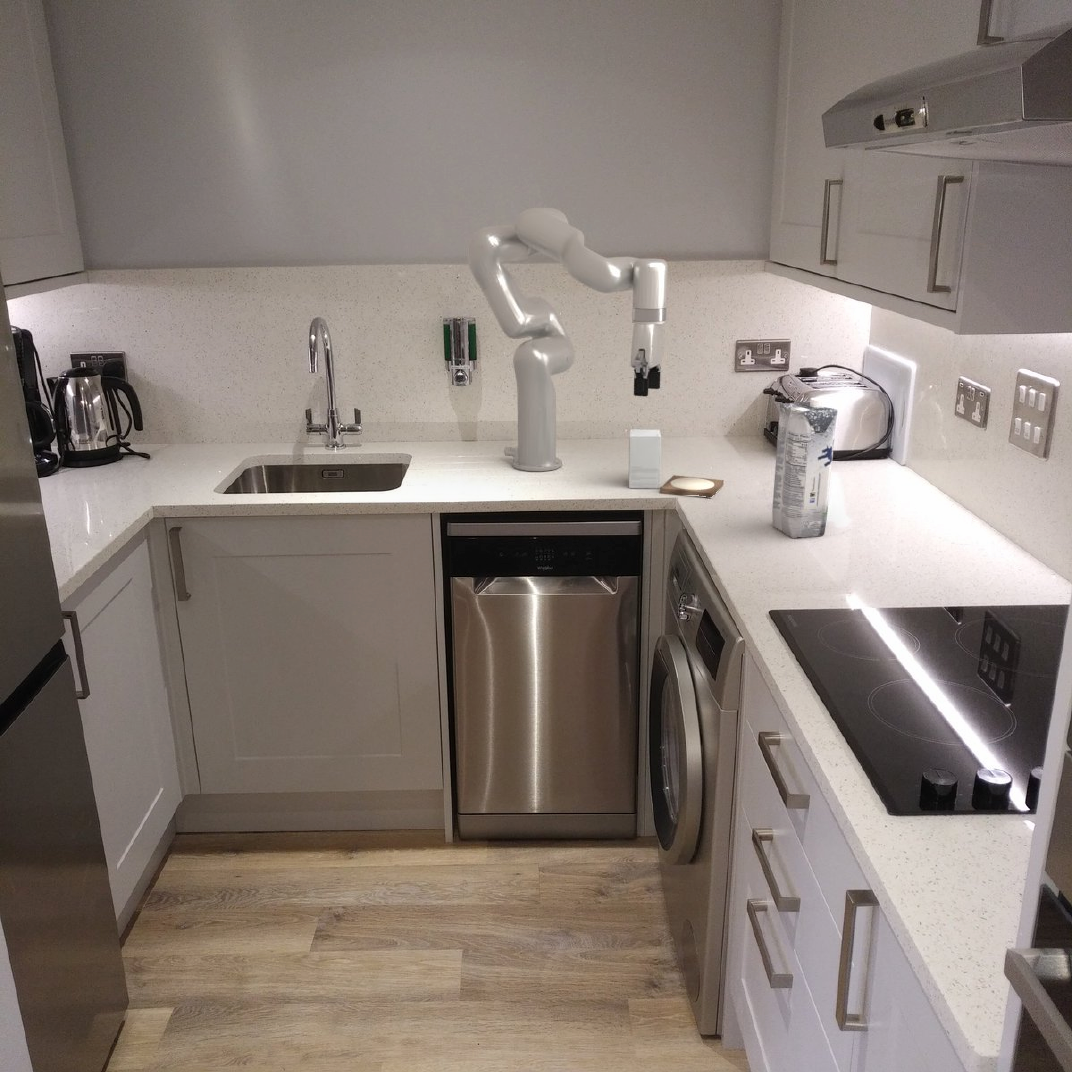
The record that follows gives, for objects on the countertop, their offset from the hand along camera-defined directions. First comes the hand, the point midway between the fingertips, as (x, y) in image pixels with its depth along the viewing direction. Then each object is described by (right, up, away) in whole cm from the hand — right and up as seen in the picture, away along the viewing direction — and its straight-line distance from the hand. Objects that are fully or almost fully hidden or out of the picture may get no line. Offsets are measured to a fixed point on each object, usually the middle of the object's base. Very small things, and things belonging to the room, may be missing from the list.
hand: (647, 392), depth 232 cm
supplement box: (0, -21, +7) cm, 22 cm away
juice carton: (+28, -32, -26) cm, 50 cm away
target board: (+11, -22, +3) cm, 25 cm away
